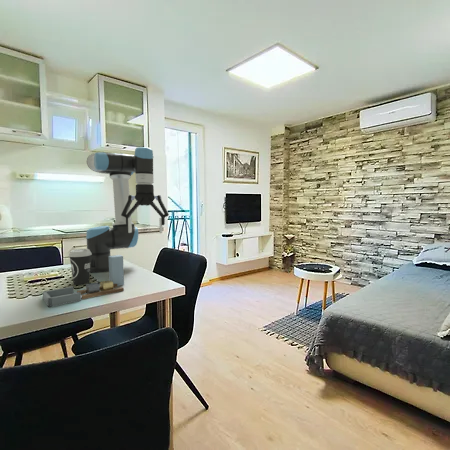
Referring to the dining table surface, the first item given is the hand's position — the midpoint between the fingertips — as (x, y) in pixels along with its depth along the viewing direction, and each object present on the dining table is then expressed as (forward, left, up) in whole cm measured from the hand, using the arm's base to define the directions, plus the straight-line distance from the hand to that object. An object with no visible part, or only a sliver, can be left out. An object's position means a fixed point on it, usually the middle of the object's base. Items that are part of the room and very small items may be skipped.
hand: (145, 232), depth 130 cm
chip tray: (-2, -34, -23) cm, 41 cm away
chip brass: (-2, -17, -24) cm, 29 cm away
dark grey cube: (-2, -23, -24) cm, 33 cm away
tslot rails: (-2, -20, -23) cm, 30 cm away
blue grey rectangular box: (-8, -11, -23) cm, 27 cm away
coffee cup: (-22, -22, -24) cm, 39 cm away
